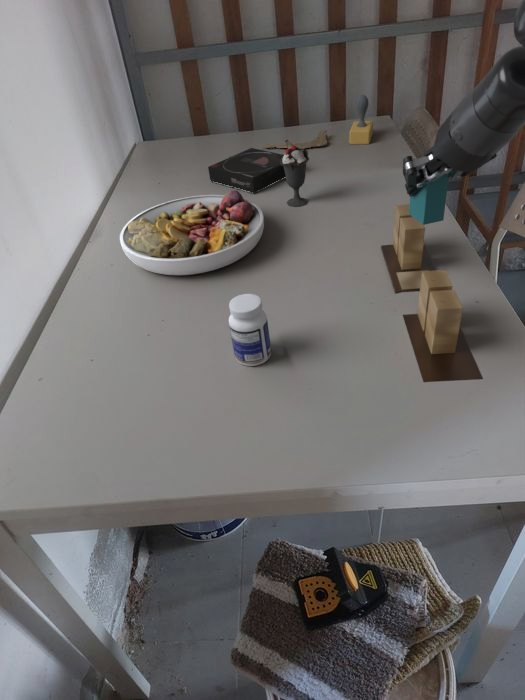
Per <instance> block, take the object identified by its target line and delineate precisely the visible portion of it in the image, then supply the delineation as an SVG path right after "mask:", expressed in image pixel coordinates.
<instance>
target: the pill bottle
mask: <svg viewBox="0 0 525 700" xmlns="http://www.w3.org/2000/svg"><path fill="white" fill-rule="evenodd" d="M228 306H229V312H230V315H229V317H228V327H229V333H230V339H231V343H232V349H233V354H234V358H235V360H236V361H237V362H238V363H239V364H240V365H242V366H245V367H255V366H256V367H257V366H259V365H262V364H264V363H266V362H268V360H269V359H270V357H271V355H272V344H271V337H270V330H269V329H270V328H269V322H268V317H267V313H266V312H265V310H264V309H263V304H262V298H261V297H260V296H259V295H257V294H254V293H243V294H239V295H236V296H235V297H233V298H232V299H231V300H230V301H229V303H228Z"/></svg>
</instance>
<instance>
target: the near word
mask: <svg viewBox="0 0 525 700" xmlns="http://www.w3.org/2000/svg"><path fill="white" fill-rule="evenodd" d="M434 270H435V269H434ZM453 287H454V286H453V283H452V281H451V280H450V278H449V275H448V273H447V271H446V269H439V270H438V269H436V270H435V271H422V277H421V286H420V291H419V294H418V304H417V313H410V314H409V313H408V314H402V318H403V321H404V324H405V328H406V330H407V334H408V337H409V340H410V345H411V347H412V350H413V353H414V356H415V357H414V358H415V360H416V363H417V366H418V369H419V372H420V375H421V379H422V382H423V383H434V382H437V383H438V382H453V381H455V382H456V381H472V380H473V381H474V380H475V381H476V380H484V377H483V375H482V374H481V373H482V372H481V371H480V369H479V366H478V364H477V362H476V359H475V357H474V355H473V353H472V351H471V348H470V346H469V343H468V341H467V339H466V338H465V335H464V333H463V330H462V329H461V321H462V315H463V310H464V307H463V305H462V303H461V300H460V299H459V297H458V295H457V292H456V290H455V289H453Z"/></svg>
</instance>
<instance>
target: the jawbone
mask: <svg viewBox="0 0 525 700" xmlns="http://www.w3.org/2000/svg"><path fill="white" fill-rule="evenodd" d="M327 133H328V130H327V129H325V130H320V131H319V132H318V133H317V136H316V138H314V140H311V141H298V142H295V141H293V142H292V141H291V142H287V143H288V148H290V149H291V147H292V145H294V146H296V147H298V148H300V149H302V150H304V148H305V147H306V148H309V149H312V148H311V147H313V148H320V147H325V146H327V144H328V138H329V137H328V134H327ZM326 139H327V140H326ZM287 143H285V144H269V143H265V144H264V145H263V146H262V148H263V149H264V148H265V149H266V148H267V149H270V148H273V147H277V148H276V149H280V148H287ZM290 143H291V144H292V145H291V144H290ZM273 149H274V148H273Z"/></svg>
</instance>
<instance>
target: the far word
mask: <svg viewBox="0 0 525 700" xmlns="http://www.w3.org/2000/svg"><path fill="white" fill-rule="evenodd" d="M409 206H410V203H407V204H396V205H394V216H393V217H394V219H393V233H392V244H382V245H380V250H381V252H382V256H383V259H384V263H385V265H386V269H387V272H388V275H389V280H390V282H391V285H392V289H393V292H394V294H395V295H397V294H401V293H415V292H420V286H421V277H422V271H435V267H434V265H433V263H432V261H431V258H430V257H429V254H428V251H427V249H426V247H425V245H424V242H425V235H426V234H425V233H426V227H425V225H423V224H421V223H420V222H419V221H418V220H416V219H415V218H414V217H413V216H411V215H410V214H409Z"/></svg>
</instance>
